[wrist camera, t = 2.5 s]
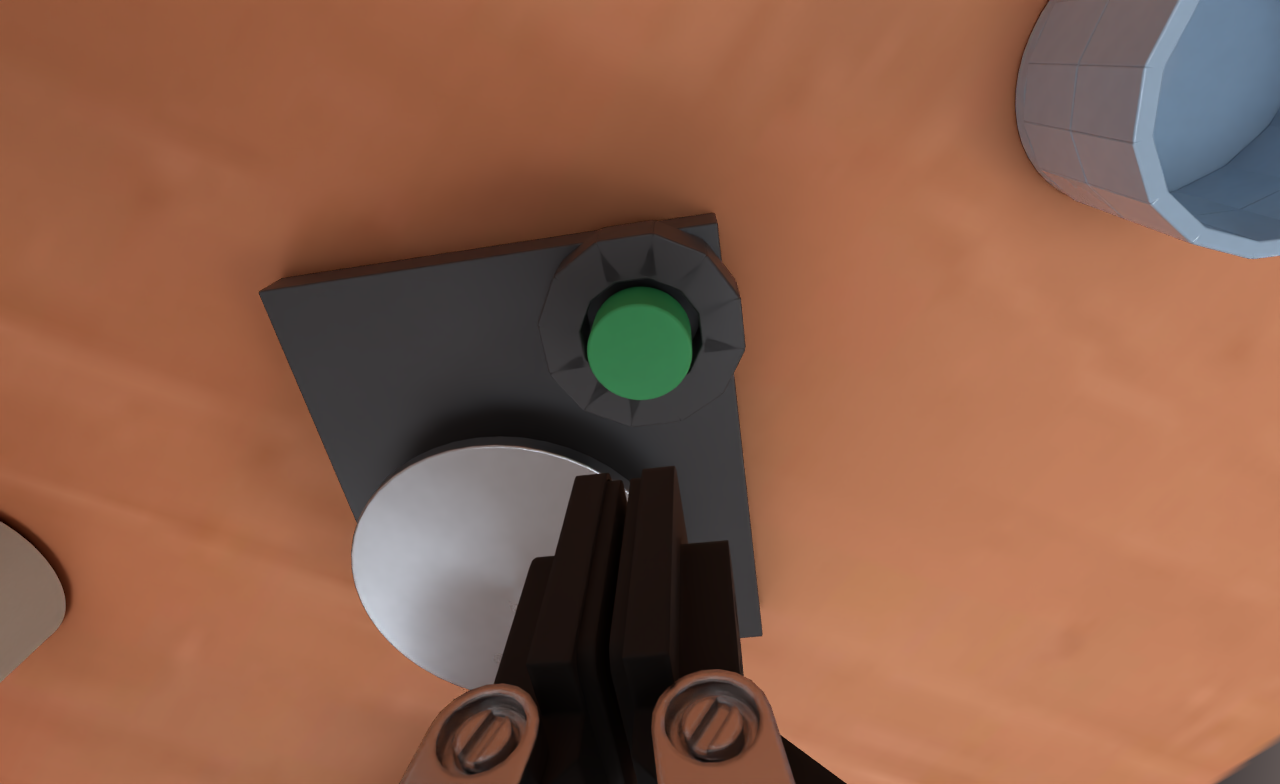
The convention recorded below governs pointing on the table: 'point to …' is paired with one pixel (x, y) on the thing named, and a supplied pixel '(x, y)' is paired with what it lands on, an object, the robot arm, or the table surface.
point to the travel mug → (25, 600)
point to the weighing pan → (462, 547)
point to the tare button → (640, 343)
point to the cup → (1161, 115)
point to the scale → (527, 365)
